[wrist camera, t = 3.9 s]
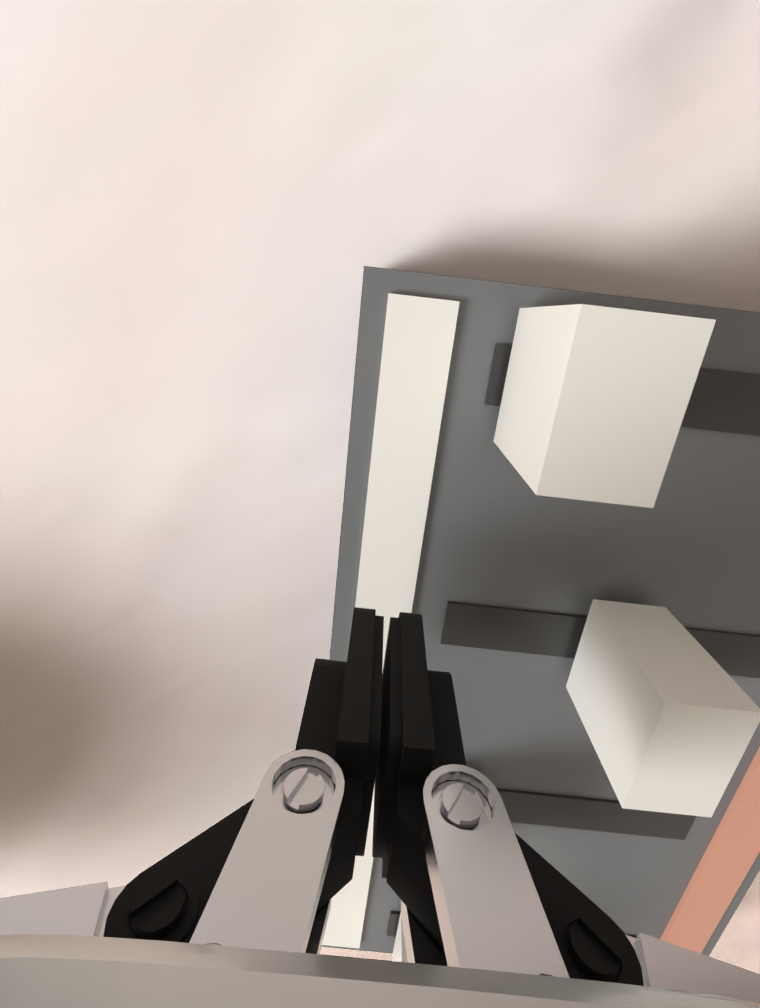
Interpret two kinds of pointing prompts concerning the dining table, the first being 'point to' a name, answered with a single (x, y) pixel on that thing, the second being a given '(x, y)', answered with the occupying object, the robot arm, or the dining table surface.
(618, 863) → the grey slider switch panel
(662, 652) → the block
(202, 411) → the dining table surface
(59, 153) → the dining table surface
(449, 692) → the robot arm
